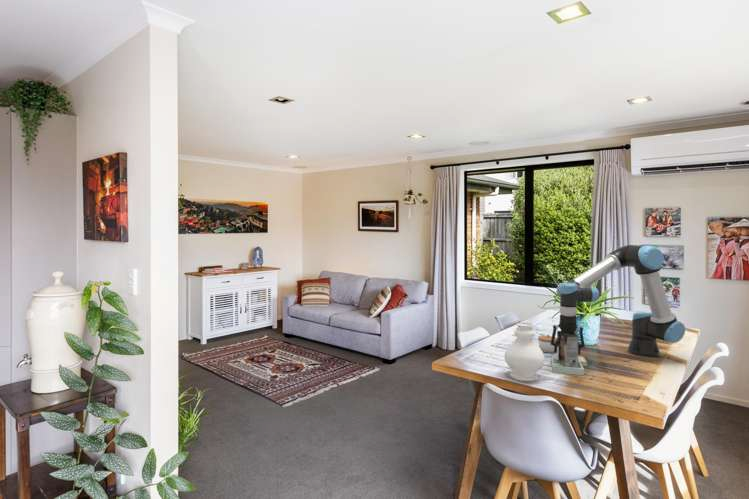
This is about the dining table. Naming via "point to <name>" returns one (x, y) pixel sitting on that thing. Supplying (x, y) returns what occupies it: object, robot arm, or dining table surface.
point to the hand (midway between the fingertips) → (566, 359)
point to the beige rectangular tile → (582, 360)
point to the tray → (566, 368)
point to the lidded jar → (546, 343)
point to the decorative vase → (524, 354)
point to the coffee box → (568, 350)
